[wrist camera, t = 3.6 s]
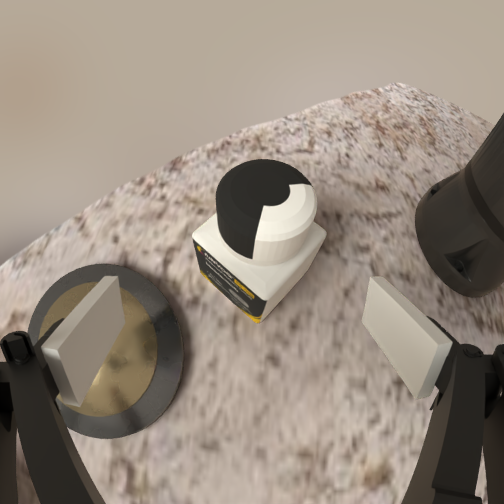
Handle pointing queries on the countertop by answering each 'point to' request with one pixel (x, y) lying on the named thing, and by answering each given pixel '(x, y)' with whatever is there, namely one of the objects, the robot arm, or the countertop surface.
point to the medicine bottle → (259, 235)
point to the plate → (120, 353)
